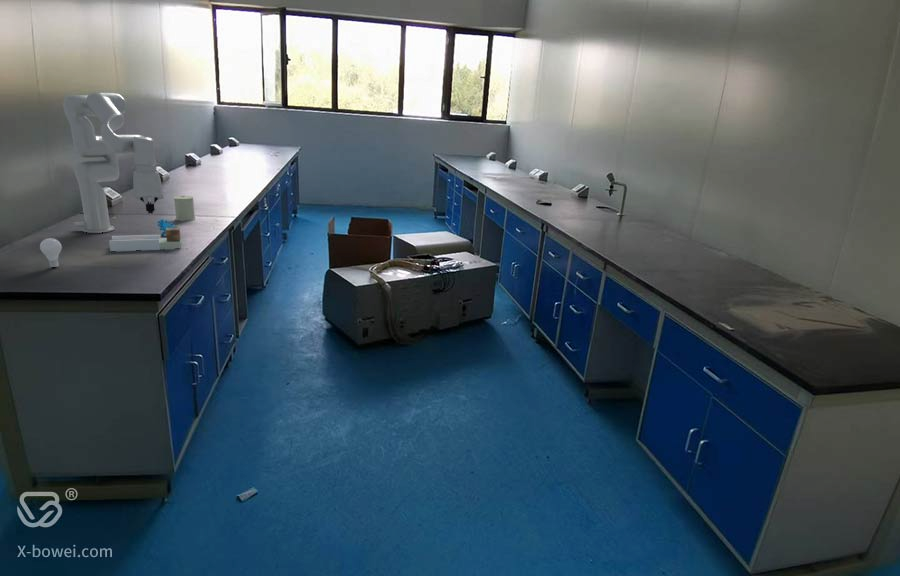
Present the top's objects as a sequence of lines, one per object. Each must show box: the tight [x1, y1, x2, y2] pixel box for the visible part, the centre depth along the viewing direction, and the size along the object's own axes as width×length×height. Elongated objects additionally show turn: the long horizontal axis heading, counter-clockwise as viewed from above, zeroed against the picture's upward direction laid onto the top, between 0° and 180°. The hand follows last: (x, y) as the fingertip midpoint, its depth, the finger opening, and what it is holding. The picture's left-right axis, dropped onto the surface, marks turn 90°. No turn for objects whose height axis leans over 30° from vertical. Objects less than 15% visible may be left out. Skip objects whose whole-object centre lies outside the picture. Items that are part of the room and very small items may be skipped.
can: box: [173, 195, 196, 222], centre depth 281 cm, size 9×9×12 cm
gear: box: [157, 218, 179, 236], centre depth 248 cm, size 11×6×10 cm
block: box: [165, 226, 182, 242], centre depth 230 cm, size 5×5×5 cm
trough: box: [108, 234, 183, 252], centre depth 228 cm, size 26×9×4 cm, turn 113°
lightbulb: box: [39, 237, 63, 268], centre depth 195 cm, size 6×6×11 cm
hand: (150, 212), depth 225 cm, fingers closed
